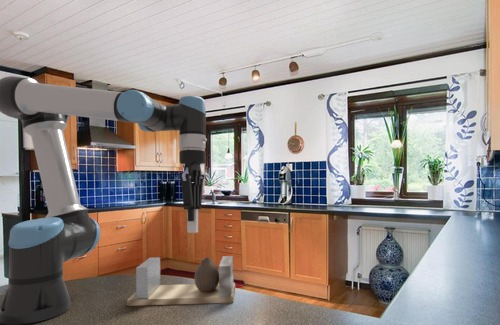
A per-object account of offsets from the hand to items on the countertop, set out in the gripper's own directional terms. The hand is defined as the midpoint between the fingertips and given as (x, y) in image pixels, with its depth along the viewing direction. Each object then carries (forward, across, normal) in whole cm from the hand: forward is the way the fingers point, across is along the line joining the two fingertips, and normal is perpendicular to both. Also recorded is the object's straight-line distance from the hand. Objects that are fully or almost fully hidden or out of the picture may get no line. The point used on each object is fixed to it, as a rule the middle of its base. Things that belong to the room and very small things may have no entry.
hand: (192, 232), depth 93 cm
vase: (+16, +1, -4) cm, 17 cm away
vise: (+18, -1, +2) cm, 18 cm away
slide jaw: (+16, -3, +12) cm, 20 cm away
